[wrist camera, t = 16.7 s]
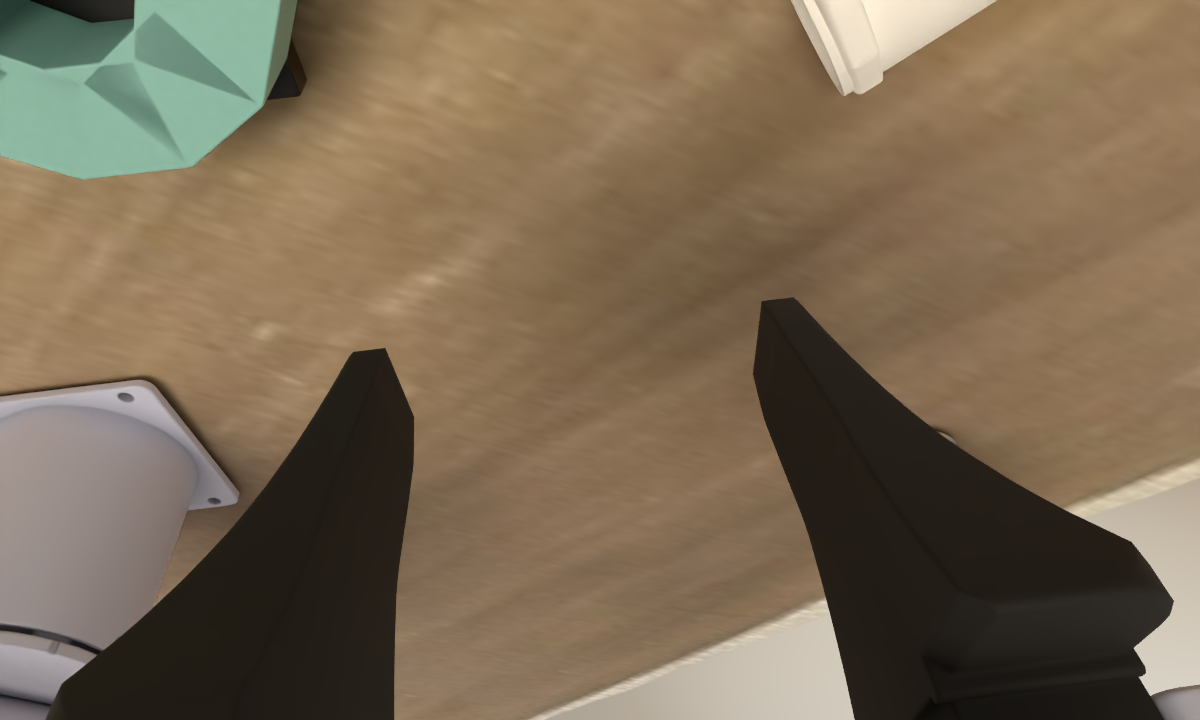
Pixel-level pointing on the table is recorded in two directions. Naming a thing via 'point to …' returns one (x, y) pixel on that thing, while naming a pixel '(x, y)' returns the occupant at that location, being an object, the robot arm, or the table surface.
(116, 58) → the ring
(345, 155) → the table surface
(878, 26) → the knuckle duster
